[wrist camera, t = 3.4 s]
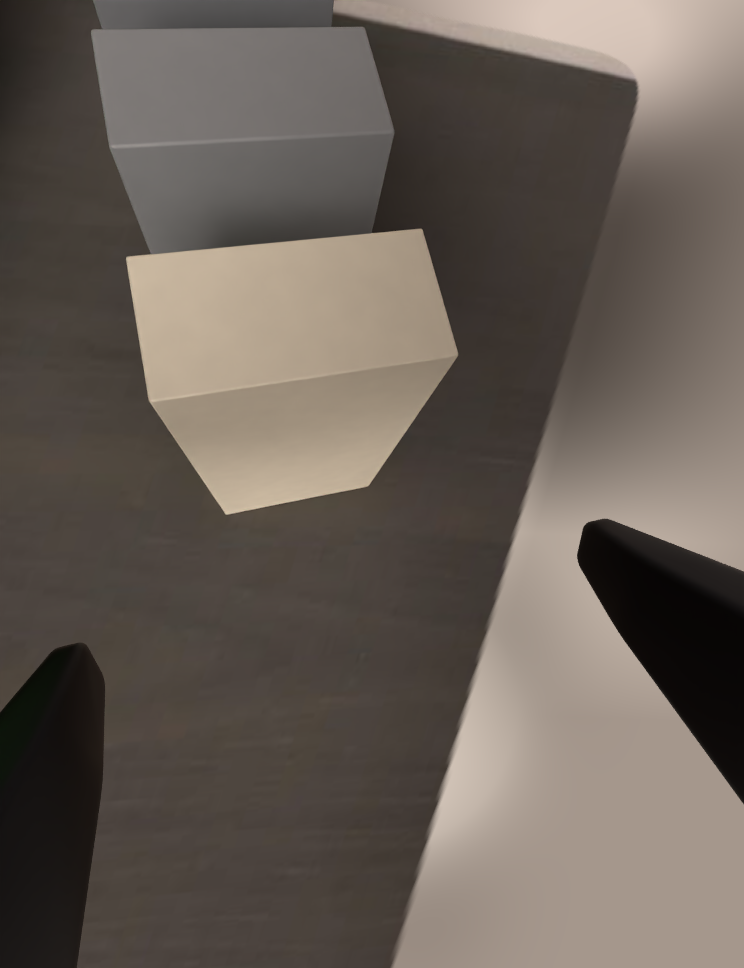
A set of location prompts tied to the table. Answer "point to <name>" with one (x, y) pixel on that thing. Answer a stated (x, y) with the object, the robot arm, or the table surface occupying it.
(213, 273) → the cream block
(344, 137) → the gray rectangular block
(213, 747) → the table surface
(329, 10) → the gray rectangular block
